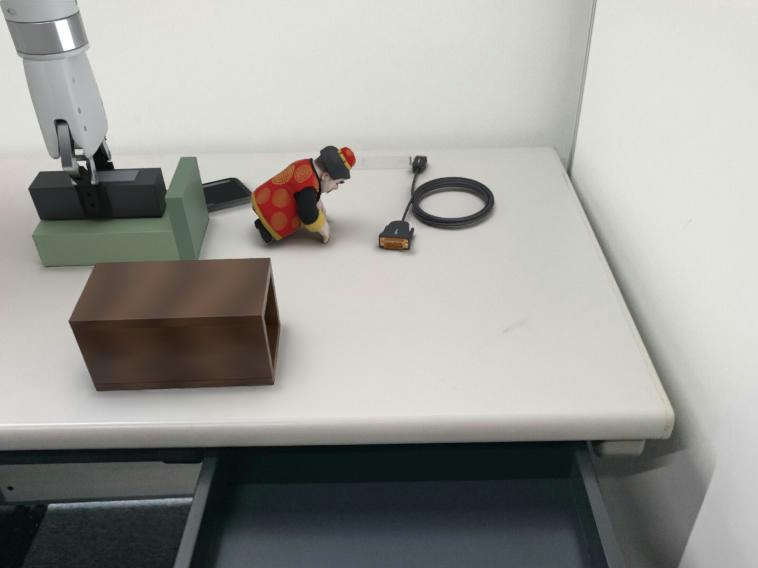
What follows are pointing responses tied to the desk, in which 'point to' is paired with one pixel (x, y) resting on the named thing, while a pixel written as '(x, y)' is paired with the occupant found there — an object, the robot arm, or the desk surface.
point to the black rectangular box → (122, 187)
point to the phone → (225, 194)
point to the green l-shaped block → (132, 229)
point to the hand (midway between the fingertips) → (103, 204)
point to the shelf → (179, 324)
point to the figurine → (300, 194)
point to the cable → (398, 230)
